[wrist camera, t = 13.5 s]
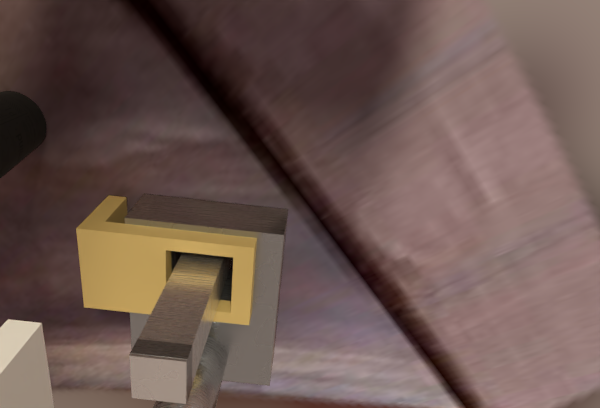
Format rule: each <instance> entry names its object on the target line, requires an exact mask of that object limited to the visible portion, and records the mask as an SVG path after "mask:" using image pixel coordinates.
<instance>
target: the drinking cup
mask: <svg viewBox="0 0 600 408" xmlns="http://www.w3.org/2000/svg"><path fill="white" fill-rule="evenodd" d="M45 135H46V122H45V118H44V116H43V114H42V112H41V110H40V109H39V107H38V106H37V105H36V104H35V103H34V102H33V101H32V100H31V99H29V98H28V97H26V96H24V95H22V94H20V93H16V92H11V91H5V92H0V178H1V177H3V176H4V175H5V174H6V173H7V172H8V171H10V170H11V169H12V168H13V167H14V166H16V165H17V164H18V163H19V162H20V161H21V160H23V159H24V158H25V157H26V156H27V155H29V154H30V153H31V152H32V151H33V150H34V149H36V148H37V147H38V146H39V145H40V144H41V143H42V142H43V140H44V138H45Z"/></svg>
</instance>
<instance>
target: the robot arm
mask: <svg viewBox="0 0 600 408" xmlns="http://www.w3.org/2000/svg"><path fill="white" fill-rule="evenodd" d="M0 408H54V402H53V396H52V389H51V382H50V375H49V368H48V362H47V355H46V348H45V341H44V335H43V328H42V323H37V322H28V321H18V320H9V319H8V320H7V321H6V322H5V323H4V324H3V325H2V326H1V327H0Z"/></svg>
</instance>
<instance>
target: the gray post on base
mask: <svg viewBox="0 0 600 408" xmlns="http://www.w3.org/2000/svg"><path fill="white" fill-rule="evenodd" d="M287 216H288V209H280V208H271V207H261V206H252V205H243V204H234V203H225V202H216V201H206V200H197V199H188V198H179V197H170V196H161V195H151V194H144V195H143V196H142V197H141V198H140V200H139V201H138V202H137V203H136V204H135V206H134V207H133V208H132V209H131V210H130V212H129V213H128V214H127V215H126V216H125V224H133V225H142V226H151V227H160V228H169V229H179V230H188V231H197V232H206V233H215V234H224V235H234V236H243V237H252V238H257V246H256V260H255V274H254V288H253V302H252V314H251V319H250V324H249V325H241V324H232V323H223V322H214V321H213V322H212V325H211V329H210V332H209V335H208V338H207V341H206V344H205V347H204V350H203V353H202V356H201V359H200V363H199V366H198V369H197V372H196V375H195V378H194V381H193V384H192V388H191V392H190V395H189V398H188V401H187V403H186V404H182V403H173V402H164V401H156V402H155V404H154V407H153V408H215V407H216V403H217V399H218V395H219V391H220V387H221V383H222V380H223V381H232V382H241V383H250V384H259V385H268V386H270V378H271V371H272V364H273V356H274V348H275V338H276V328H277V318H278V307H279V297H280V287H281V277H282V267H283V257H284V246H285V236H286V226H287ZM181 254H182V252H178V251H171V264H172V272H173V270H174V268H175V266H176V264H177V262H178V260H179V258H180V256H181ZM232 274H233V270H229V273H228V276H227V279H226V282H225V285H224V288H223V292H222V295H221V298H220V300H226V301H231V295H232ZM149 316H150V314H141V313H132V312H130V327H131V345H132V349H133V347H134V345H135V343H136V341H137V339H138V338H139V336H140V334H141V332H142V330H143V328H144V326H145V324H146V322H147V320H148V318H149Z"/></svg>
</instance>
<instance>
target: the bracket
mask: <svg viewBox="0 0 600 408" xmlns="http://www.w3.org/2000/svg"><path fill="white" fill-rule="evenodd" d="M126 215H127V197H120V196H111V195H108V196H107V198H106V199H105V200H104V201H103V202H102V203H101V204H100V205H99V206H98V207H97V208H96V209H95V210H94V211H93V212H92V213H91V214H90V215H89V216H88V217H87V218H86V219H85V220H84V221H83V222H82V223H81V224H80V225H79V226H78V227H77V228H76V232H77V242H78V252H79V262H80V272H81V281H82V291H83V301H84V307H86V308H95V309H104V310H113V311H122V312H132V313H141V314H150V315H151V313H152V311H153V309H154V307H155V305H156V303H157V301H158V299H159V297H160V295H161V293H162V291H163V289H164V287H165V285H166V283H167V281H168V280H169V278H170V276H171V274H172V264H171V251H178V252H187V253H196V254H205V255H214V256H224V257H233V274H232V295H231V301H226V300H220V301H219V304H218V307H217V310H216V313H215V316H214V319H213V321H214V322H223V323H232V324H241V325H249V324H250V319H251V314H252V302H253V288H254V274H255V260H256V246H257V238H252V237H243V236H234V235H224V234H215V233H206V232H197V231H188V230H179V229H169V228H160V227H151V226H142V225H133V224H125V216H126Z"/></svg>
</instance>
